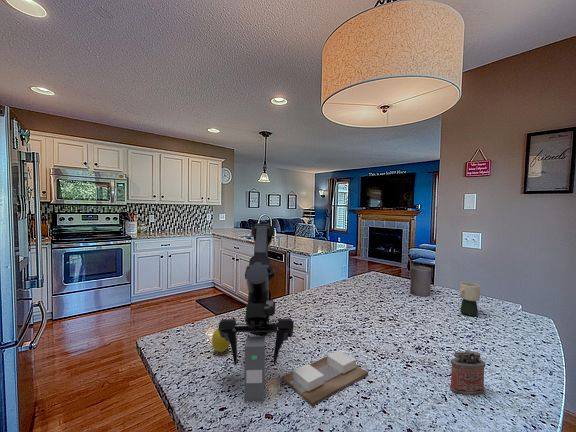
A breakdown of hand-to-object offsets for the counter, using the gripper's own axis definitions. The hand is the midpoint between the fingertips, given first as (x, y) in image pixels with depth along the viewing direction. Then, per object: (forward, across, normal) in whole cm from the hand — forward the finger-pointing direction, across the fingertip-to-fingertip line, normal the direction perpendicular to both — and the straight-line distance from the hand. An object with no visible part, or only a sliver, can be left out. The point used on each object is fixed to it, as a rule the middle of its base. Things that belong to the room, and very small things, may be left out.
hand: (254, 364), depth 66 cm
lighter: (+6, +52, +6) cm, 53 cm away
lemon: (-9, -12, +19) cm, 24 cm away
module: (+5, 0, +6) cm, 8 cm away
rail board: (+1, +18, +10) cm, 21 cm away
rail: (+1, +18, +10) cm, 21 cm away
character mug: (-28, +87, +39) cm, 100 cm away
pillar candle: (-47, +80, +58) cm, 110 cm away
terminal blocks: (0, +18, +9) cm, 20 cm away
